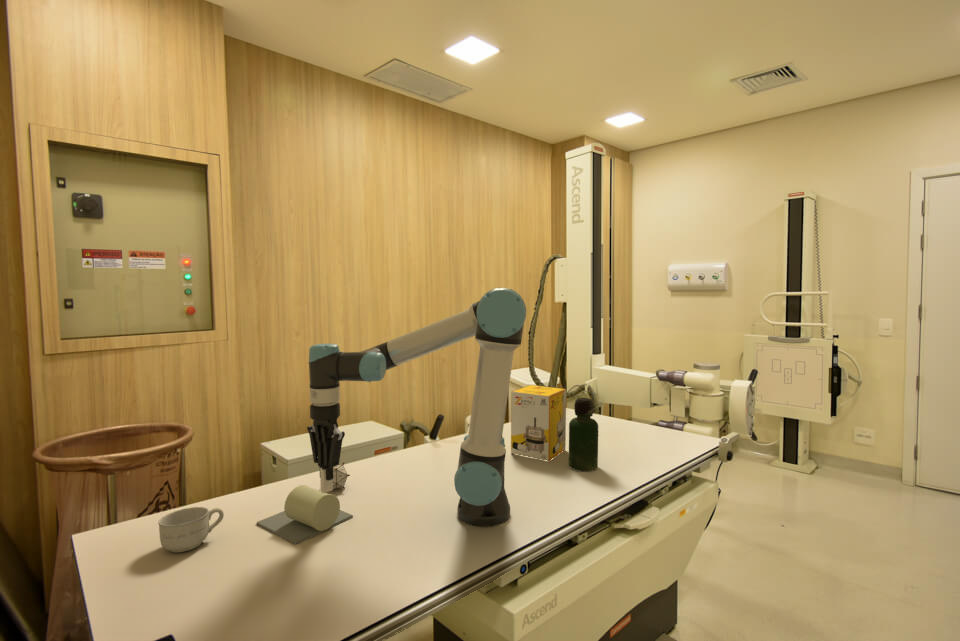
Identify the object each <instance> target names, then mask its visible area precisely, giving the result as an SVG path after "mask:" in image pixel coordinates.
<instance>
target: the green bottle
mask: <svg viewBox="0 0 960 641" xmlns="http://www.w3.org/2000/svg"><path fill="white" fill-rule="evenodd" d="M573 406H574V415H575V416H576V417H574V418H572V419H571V420H570V421H569V424H568V467H569V468H570V467H571V469H573V470H574V469H575V470H574V471H578V470H580V471H579V472H593V471H595V470H597V469H598V468H599V463H598V462H599V423H598V422H597V421H596V420H595V419H594V418H592V416H593V415H594V402H593V400H592V399H591V398H587V397H577V398H576V399H575V401H574V405H573ZM592 470H593V471H592Z"/></svg>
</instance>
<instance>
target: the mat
mask: <svg viewBox="0 0 960 641" xmlns="http://www.w3.org/2000/svg"><path fill="white" fill-rule="evenodd" d="M353 517H354V515H353V514H351V513H348V512H346V511H343V510H341V509H340V510H339V514H338V517H337V519H336V521H335V522H334V523H333V525H332V526H331V527H329V528H328V529H326V530H324V531H325V532H326V531H327V530H329V529H331V528H333V527H335V526H337V525H339V524H341V523H343V522H346V521H348V520H349V519H352V518H353ZM257 524H258V525H257ZM256 525H257V526H259V527H261V528H263V529H265V530H267V531H269V532H271V533H273V534H275V535H277V536H279V537H281V538H282V539H285V540H286V541H289V542H291V543H293V544H295V545H297V544H299V543H302V542H304V541H306V540H308V539H310V538H312V537H314V536H316V535H319V534H321V533H322V532H324V531H318V530H316V529H315V528H313V527H311V526H308V525H306V524H303V523H301V522H298V521H296V520H293V519H290V518H288V517H287V516H286V514H285V510H283V511H280V512H278V513H275V514H273V515H270V516H268V517H266V518H264V519H261V520H259V521H257V522H256Z"/></svg>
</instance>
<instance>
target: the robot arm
mask: <svg viewBox="0 0 960 641" xmlns="http://www.w3.org/2000/svg"><path fill="white" fill-rule="evenodd" d="M526 317H527V307H526V303H525V301H524V299H523V297H522V296H521V295H520V294H519V293H518V292H517V291H516V290H513V289H511V288H507V287H495V288H493V289H490V290H487V292H485V293H484V295H483V296H481V298H480V300H479V301H476V302H473V303H471V304H470V306H469V307H468V309H465V310H464V311H461V312H458V313H456V314H454V315H453V314H452V315H450V316H448V317H445V318H443V319H441V320H439V321H435V322H433V323H430V324H429V325H426V326H423V327H421V328H418V329H416V330H414V331H410V332H408V333H405V334H403V335H401V336H398V337H395V338H393V339H390V340H388V341H385V342H383V343H381V344H378V345H374V346H372V347H370V348H367V349H364V350H362V351H353V352H352V351H340V348H339V347H340V346H339V345H338V344H336V343H317V344H313V345H311V346H310V347H309V350H308V351H309V352H308V371H309V372H308V373H309V374H308V376H309V377H308V378H309V402H310V403H311V404H310V406H309V417H310V419H311V420H312V425H310V426H307V427H306V430H307V432H308V435H309V441H310V445H311V446H310V447H311V452H312V458H313V462H314V464H317V466H318V467H319V478H320V491H321V492H322V493H329V492H331V491H333V490H334V489H333V467H335V466H337V465H340V459H341V453H342V445H343V440H344V438H345V434H346V433H345V431H341V430H340V429H339V423H338V419H339V417H340V416H341V403H340V400H341V388H340V387H341V386H340V382H344V381H347V382H366V383H371V382H379V381H382V380H383V379H384V378H385V375H386V371H389V370H391V369H394V368H395V367H398V366H400V365H403V364H405V363H409V362H410V361H413V360H414V361H415V360H416V359H419V358H421V357H423V356H427V355H429V354H431V353H434V352H437V351H439V350H442V349H444V348H447V347H450V346H452V345H455V344H457V343H460V342H463V341H464V340H468V339H470V338H473V337H474V339H475V341H476V342H477V343H478V345H479V351H478V360H477V367H476V374H475V383H474V389H473V397H472V405H471V413H470V420H469V426H468V434H466V435H465V436H464V437H463V441H462V442H461V443H460V450H459V457H458V462H457V463H458V464H457V470H456V471H455V473H454V477H453V478H454V480H453V481H454V488H455V492H456V494H457V496H459V497H460V498H459V500H458V504H457V509H456V511H457V514H456V516H457V518H459V520H460V521H461V522H463V523H465V524H468V525H470V526H475V527H494V526H498V525H501V524H504V523H505V522H507V521H508V520H509V519H508V518H510V517H511V504H510V503H509V498H508V496H507V492H506V488H505V461H506V454H507V449H506V444H505V438H504V437H503V433H504V432H503V431H504V424H505V419H506V418H505V417H506V411H507V404H508V403H507V402H508V397H509V389H510V383H511V374H512V369H513V361H514V353H515V351H516V349H518V348H519V347H521V346H522V339H523V333H524V326H525V320H526ZM503 522H504V523H503Z"/></svg>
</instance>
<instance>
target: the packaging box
mask: <svg viewBox="0 0 960 641" xmlns="http://www.w3.org/2000/svg"><path fill="white" fill-rule="evenodd" d="M510 396H511V397H510V398H511V399H510V400H511V402H510V406H511V407H510V408H511V410H510V454H511V453H513V454H518V455H523V456H528V457H533V458H537V459H542V460H547V461H550V460H551V459H552V458H554V457H555V456H557V455H558V454H559V453H561V452H562V451H564V450H565V451H566V441H567V440H566V436H567V435H566V434H567V432H566V431H567V428H566V426H567V389H565V388H560V387H559V388H558V387H550V386H549V387H548V386H542V385H533V384H531V385H526V386H524V387H520V388H518V389H514V390H512V391H511V394H510ZM565 451H564V452H565ZM562 453H563V452H562ZM562 453H561V454H562ZM558 456H559V455H558ZM558 456H557V457H558ZM555 458H556V457H555ZM555 458H554V459H555ZM552 460H553V459H552ZM552 460H551V461H552ZM551 461H550V462H551Z"/></svg>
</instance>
